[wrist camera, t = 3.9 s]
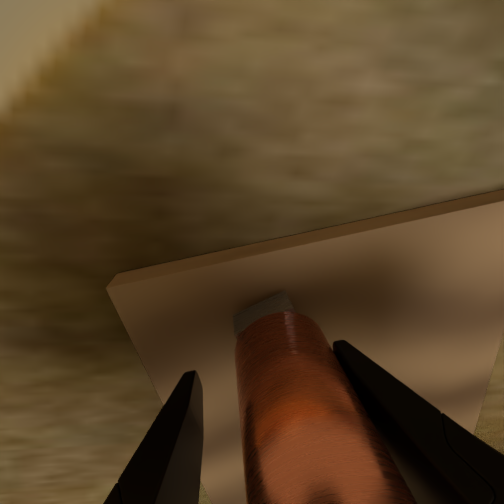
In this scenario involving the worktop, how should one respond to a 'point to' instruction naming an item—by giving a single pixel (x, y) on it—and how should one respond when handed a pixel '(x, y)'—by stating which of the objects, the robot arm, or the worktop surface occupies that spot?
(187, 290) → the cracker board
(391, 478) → the lever
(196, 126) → the worktop surface
